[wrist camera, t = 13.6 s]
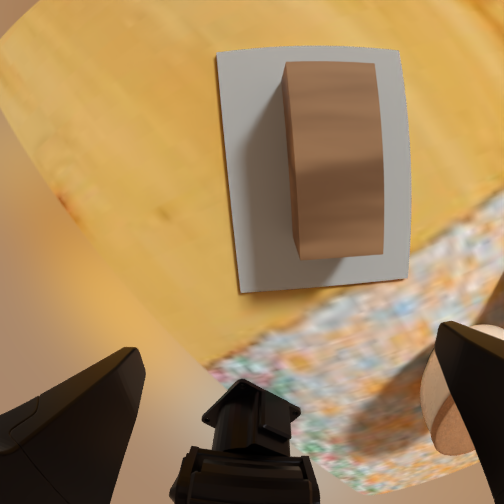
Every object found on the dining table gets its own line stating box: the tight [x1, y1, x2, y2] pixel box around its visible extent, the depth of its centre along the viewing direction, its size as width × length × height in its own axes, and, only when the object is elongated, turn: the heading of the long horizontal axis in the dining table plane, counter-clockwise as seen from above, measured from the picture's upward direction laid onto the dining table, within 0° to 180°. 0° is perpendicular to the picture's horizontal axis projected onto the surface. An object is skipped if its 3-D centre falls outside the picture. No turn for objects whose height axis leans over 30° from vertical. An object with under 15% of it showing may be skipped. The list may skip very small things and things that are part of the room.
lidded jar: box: [420, 324, 504, 456], centre depth 19 cm, size 11×11×9 cm
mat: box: [217, 46, 411, 293], centre depth 19 cm, size 16×12×1 cm
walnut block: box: [281, 61, 384, 261], centre depth 17 cm, size 4×4×10 cm
